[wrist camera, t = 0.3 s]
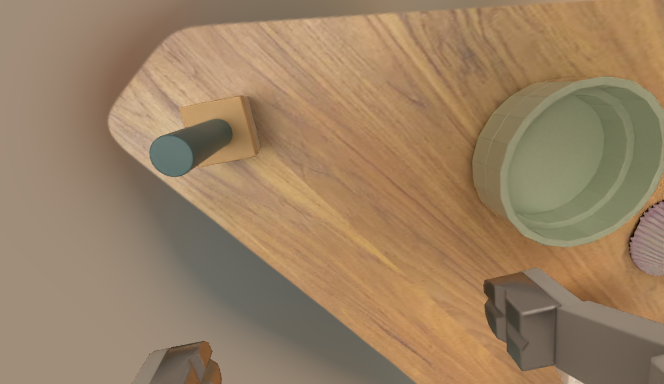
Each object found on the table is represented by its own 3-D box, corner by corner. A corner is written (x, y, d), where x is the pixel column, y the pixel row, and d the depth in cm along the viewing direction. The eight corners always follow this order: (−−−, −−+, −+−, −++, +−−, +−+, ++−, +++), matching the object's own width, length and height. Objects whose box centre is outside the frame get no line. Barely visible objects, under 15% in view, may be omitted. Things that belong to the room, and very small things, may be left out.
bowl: (464, 95, 32) (498, 96, 26) (616, 65, 32) (682, 60, 27) (472, 234, 37) (501, 260, 31) (604, 207, 37) (657, 229, 31)
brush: (194, 105, 31) (107, 119, 17) (248, 94, 31) (202, 100, 17) (210, 158, 32) (142, 207, 19) (262, 148, 32) (230, 190, 19)
